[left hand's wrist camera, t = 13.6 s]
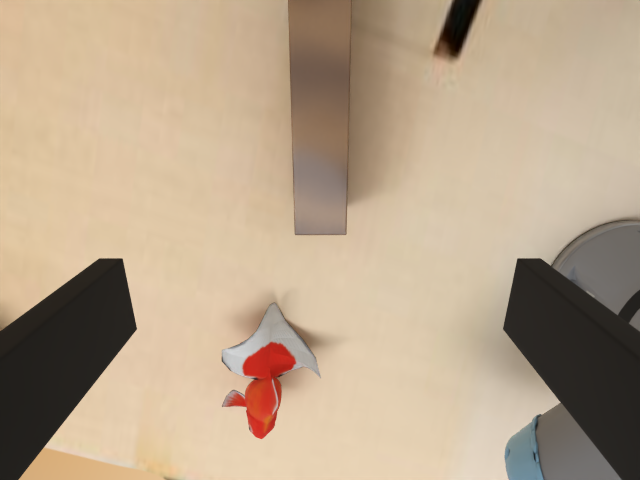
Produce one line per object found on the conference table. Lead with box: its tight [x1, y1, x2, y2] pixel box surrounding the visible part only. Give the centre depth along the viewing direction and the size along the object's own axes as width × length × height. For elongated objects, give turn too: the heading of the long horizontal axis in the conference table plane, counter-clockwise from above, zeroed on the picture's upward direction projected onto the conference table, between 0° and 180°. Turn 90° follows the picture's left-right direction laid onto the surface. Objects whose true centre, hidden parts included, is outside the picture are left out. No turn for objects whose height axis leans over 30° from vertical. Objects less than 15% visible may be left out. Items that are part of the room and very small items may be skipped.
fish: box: [222, 302, 321, 439], centre depth 44 cm, size 11×16×10 cm
